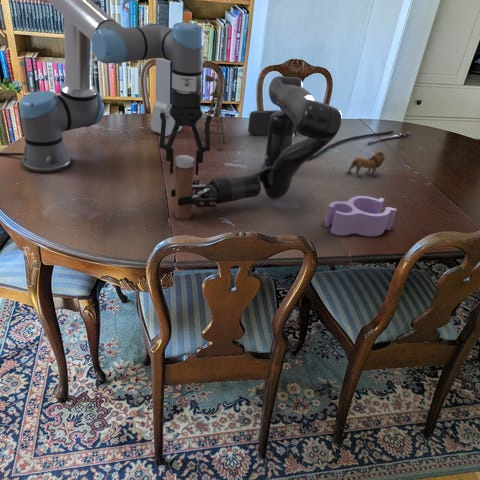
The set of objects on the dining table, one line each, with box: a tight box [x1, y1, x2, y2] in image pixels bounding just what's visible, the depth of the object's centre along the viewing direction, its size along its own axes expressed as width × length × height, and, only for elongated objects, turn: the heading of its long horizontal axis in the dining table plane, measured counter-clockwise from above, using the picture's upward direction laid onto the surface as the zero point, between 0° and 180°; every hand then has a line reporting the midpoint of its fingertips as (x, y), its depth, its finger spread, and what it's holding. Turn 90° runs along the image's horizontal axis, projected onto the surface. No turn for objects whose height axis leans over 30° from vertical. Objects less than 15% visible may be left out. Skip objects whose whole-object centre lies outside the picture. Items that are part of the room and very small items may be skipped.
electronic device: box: [149, 58, 183, 137], centre depth 188 cm, size 12×8×30 cm, turn 148°
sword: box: [367, 133, 409, 145], centre depth 213 cm, size 31×3×1 cm, turn 126°
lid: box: [174, 154, 196, 168], centre depth 130 cm, size 6×6×2 cm
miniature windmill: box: [201, 67, 226, 150], centre depth 180 cm, size 9×8×30 cm
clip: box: [324, 195, 398, 237], centre depth 141 cm, size 20×12×7 cm, turn 109°
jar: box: [174, 165, 194, 220], centre depth 134 cm, size 5×5×17 cm
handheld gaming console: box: [247, 110, 298, 136], centre depth 202 cm, size 23×3×10 cm, turn 108°
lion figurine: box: [346, 150, 386, 178], centre depth 174 cm, size 15×5×9 cm, turn 110°
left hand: (184, 172), depth 132 cm, fingers open, 6 cm apart
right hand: (175, 197), depth 135 cm, fingers closed on jar, 5 cm apart
